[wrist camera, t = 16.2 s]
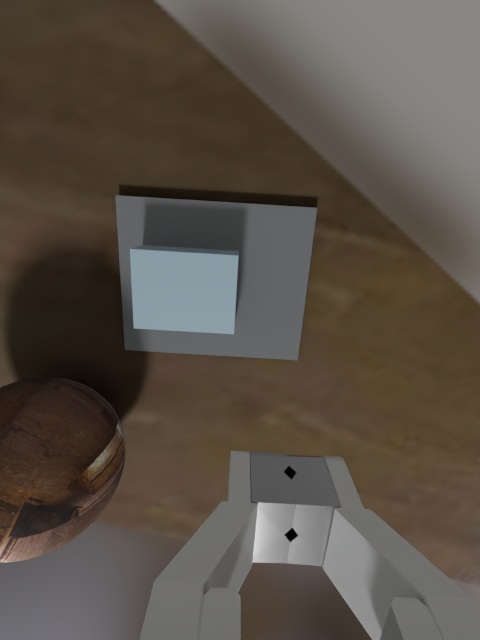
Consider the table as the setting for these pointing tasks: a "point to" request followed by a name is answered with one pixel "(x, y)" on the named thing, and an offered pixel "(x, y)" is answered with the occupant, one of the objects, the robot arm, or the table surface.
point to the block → (184, 288)
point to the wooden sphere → (54, 463)
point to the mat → (253, 270)
